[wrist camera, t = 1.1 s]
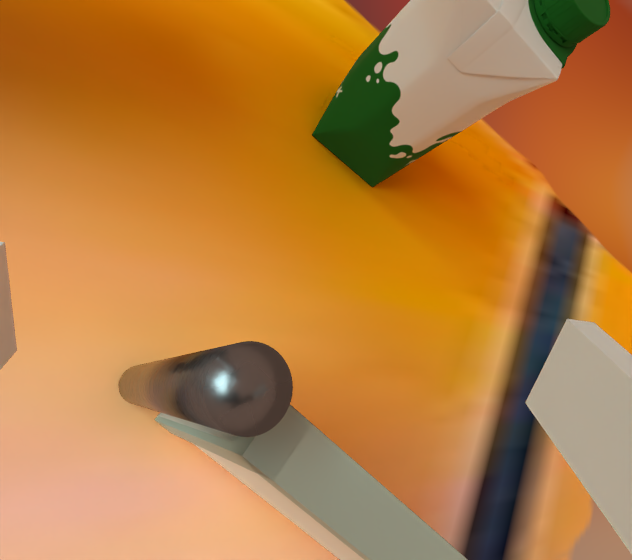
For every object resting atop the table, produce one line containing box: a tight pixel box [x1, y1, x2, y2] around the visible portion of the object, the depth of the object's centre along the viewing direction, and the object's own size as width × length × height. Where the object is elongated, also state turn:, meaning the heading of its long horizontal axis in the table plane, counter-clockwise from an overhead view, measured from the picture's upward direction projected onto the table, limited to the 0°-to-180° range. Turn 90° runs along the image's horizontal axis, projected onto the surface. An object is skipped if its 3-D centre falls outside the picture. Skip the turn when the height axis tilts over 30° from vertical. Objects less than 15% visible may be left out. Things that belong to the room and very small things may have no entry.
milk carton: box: [312, 0, 610, 187], centre depth 33 cm, size 9×9×20 cm
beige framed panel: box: [155, 405, 467, 560], centre depth 24 cm, size 19×2×16 cm, turn 53°
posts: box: [119, 341, 293, 437], centre depth 23 cm, size 27×2×20 cm, turn 53°
